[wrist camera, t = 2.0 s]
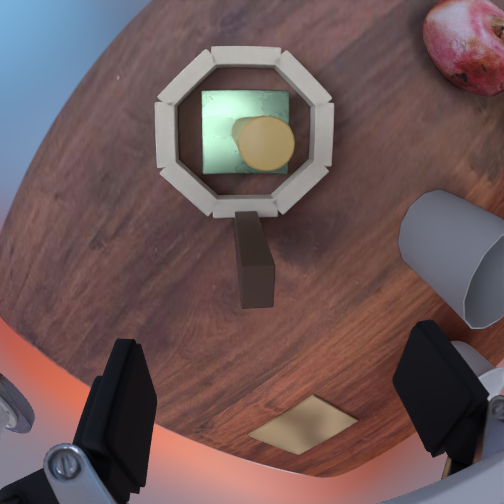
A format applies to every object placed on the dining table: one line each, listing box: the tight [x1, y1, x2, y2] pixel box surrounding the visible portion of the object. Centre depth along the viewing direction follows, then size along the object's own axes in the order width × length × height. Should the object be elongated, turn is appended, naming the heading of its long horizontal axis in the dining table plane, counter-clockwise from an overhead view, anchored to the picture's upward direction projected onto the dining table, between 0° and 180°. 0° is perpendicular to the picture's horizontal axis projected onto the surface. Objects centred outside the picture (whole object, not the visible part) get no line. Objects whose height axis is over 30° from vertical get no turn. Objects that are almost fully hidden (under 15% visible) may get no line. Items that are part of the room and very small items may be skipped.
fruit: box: [422, 0, 504, 97], centre depth 14 cm, size 9×10×10 cm
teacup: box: [450, 341, 504, 401], centre depth 29 cm, size 12×15×10 cm
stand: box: [202, 89, 295, 174], centre depth 16 cm, size 6×6×12 cm
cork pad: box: [248, 394, 358, 455], centre depth 37 cm, size 11×11×1 cm
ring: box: [155, 46, 334, 309], centre depth 17 cm, size 14×12×10 cm
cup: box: [398, 189, 504, 329], centre depth 21 cm, size 8×8×10 cm
